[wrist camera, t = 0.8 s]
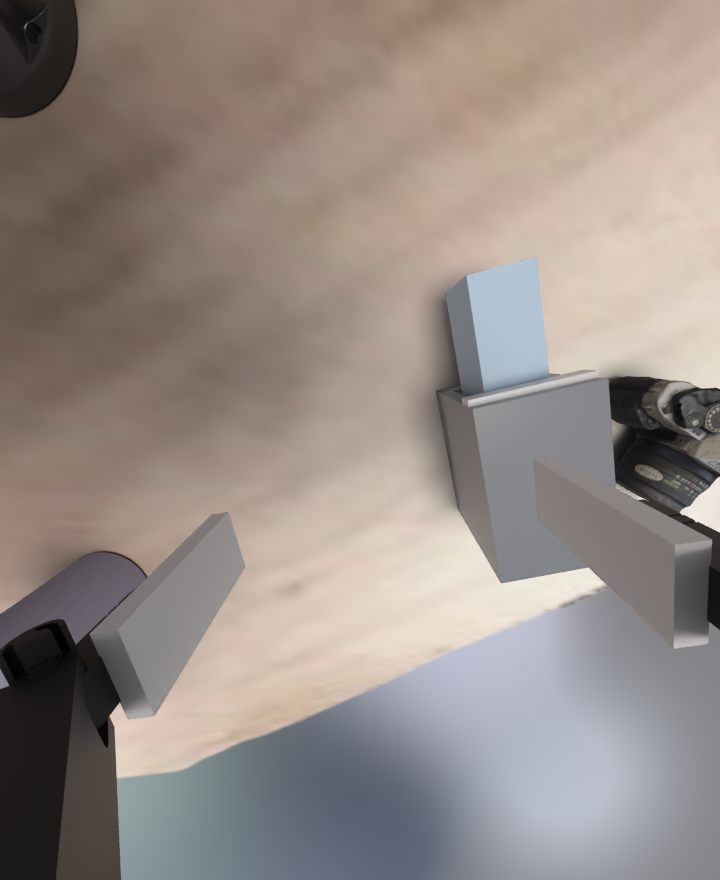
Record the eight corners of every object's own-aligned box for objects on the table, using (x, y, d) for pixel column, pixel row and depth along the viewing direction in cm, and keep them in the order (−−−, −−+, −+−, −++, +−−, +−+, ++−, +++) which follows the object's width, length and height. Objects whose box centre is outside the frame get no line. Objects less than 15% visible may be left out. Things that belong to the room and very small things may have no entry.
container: (116, 537, 41) (-22, 634, 27) (168, 600, 43) (65, 723, 29) (55, 573, 43) (-109, 684, 28) (107, 632, 45) (-20, 765, 30)
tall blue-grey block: (445, 293, 31) (466, 275, 24) (499, 279, 31) (536, 257, 24) (475, 473, 35) (501, 501, 28) (524, 463, 35) (561, 488, 28)
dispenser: (435, 386, 36) (471, 402, 23) (520, 366, 35) (607, 371, 22) (458, 509, 39) (501, 583, 26) (536, 493, 38) (620, 561, 25)
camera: (554, 447, 37) (619, 479, 27) (615, 364, 35) (710, 366, 25) (666, 513, 39) (766, 566, 29) (732, 437, 36) (865, 467, 27)
